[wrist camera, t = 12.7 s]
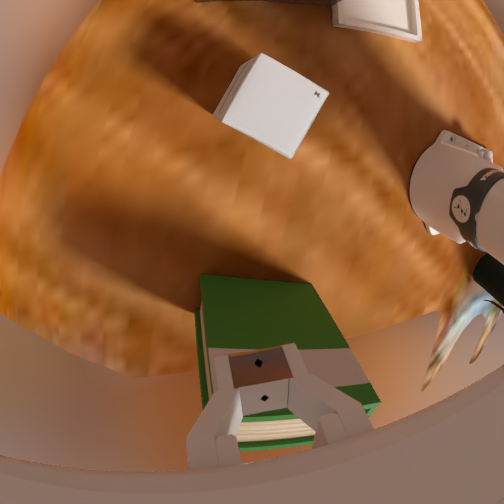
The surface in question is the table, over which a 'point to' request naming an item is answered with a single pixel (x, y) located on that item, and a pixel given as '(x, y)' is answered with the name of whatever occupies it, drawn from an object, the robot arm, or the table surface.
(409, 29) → the tray
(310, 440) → the hardback book
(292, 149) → the supplement box
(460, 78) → the table surface
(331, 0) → the slot block
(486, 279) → the wine bottle
